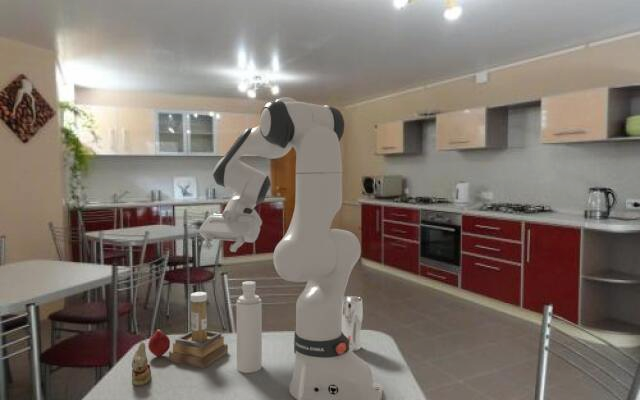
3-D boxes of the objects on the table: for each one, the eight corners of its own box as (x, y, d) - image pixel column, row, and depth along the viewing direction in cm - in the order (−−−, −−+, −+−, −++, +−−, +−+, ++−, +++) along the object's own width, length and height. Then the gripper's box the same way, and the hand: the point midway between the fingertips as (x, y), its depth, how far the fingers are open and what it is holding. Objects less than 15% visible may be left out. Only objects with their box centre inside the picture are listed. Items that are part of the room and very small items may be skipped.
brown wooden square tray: (227, 352, 131) (227, 332, 130) (204, 368, 120) (204, 346, 120) (194, 346, 135) (194, 327, 135) (169, 360, 125) (168, 339, 125)
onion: (173, 353, 130) (173, 326, 130) (164, 361, 124) (164, 333, 124) (154, 352, 131) (154, 325, 130) (144, 360, 125) (144, 332, 124)
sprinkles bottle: (209, 340, 127) (209, 294, 126) (193, 343, 124) (193, 296, 123) (204, 335, 131) (204, 290, 130) (189, 338, 128) (188, 292, 127)
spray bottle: (232, 367, 121) (231, 276, 120) (253, 360, 126) (252, 272, 124) (245, 375, 116) (244, 281, 115) (266, 368, 121) (266, 277, 119)
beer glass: (335, 345, 137) (335, 297, 136) (355, 341, 140) (355, 294, 139) (346, 353, 130) (346, 303, 130) (366, 349, 133) (367, 300, 132)
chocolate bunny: (122, 386, 110) (121, 346, 109) (140, 372, 118) (139, 335, 117) (142, 388, 109) (142, 348, 109) (159, 373, 117) (158, 336, 116)
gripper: (206, 207, 148) (187, 241, 140) (260, 210, 141) (243, 245, 132) (214, 219, 153) (196, 252, 144) (266, 223, 145) (251, 258, 137)
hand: (219, 249), depth 138 cm, fingers open, 8 cm apart
